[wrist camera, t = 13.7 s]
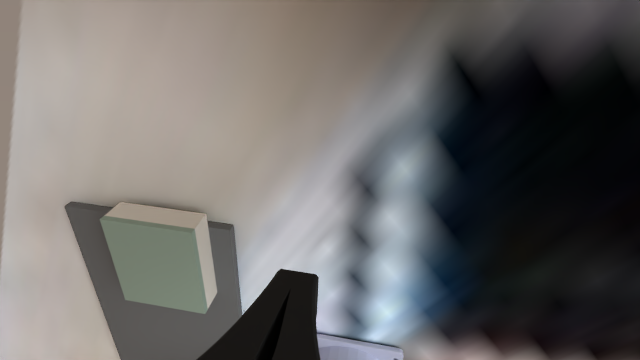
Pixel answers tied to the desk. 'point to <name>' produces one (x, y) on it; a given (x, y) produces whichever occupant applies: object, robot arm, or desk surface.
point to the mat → (151, 320)
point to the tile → (161, 256)
